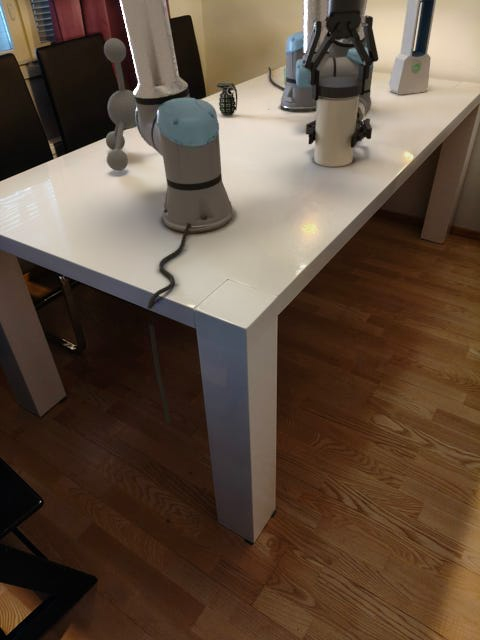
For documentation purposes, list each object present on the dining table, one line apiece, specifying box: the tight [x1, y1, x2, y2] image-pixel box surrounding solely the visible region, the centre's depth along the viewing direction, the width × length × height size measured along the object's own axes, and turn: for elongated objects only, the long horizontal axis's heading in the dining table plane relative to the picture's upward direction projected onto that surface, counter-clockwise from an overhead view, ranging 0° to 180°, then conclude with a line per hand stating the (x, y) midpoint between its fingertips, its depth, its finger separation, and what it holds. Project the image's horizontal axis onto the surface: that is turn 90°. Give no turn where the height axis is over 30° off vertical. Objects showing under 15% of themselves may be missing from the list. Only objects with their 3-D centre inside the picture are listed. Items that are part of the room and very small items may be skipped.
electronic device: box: [388, 0, 437, 96], centre depth 174 cm, size 12×8×30 cm, turn 105°
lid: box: [318, 77, 362, 98], centre depth 120 cm, size 11×11×2 cm
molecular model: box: [103, 37, 137, 172], centre depth 131 cm, size 24×22×30 cm
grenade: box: [215, 82, 238, 117], centre depth 166 cm, size 7×6×10 cm
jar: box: [313, 95, 359, 168], centre depth 126 cm, size 10×10×18 cm
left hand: (337, 96), depth 122 cm, fingers closed on lid, 11 cm apart
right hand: (331, 140), depth 124 cm, fingers closed on jar, 10 cm apart
